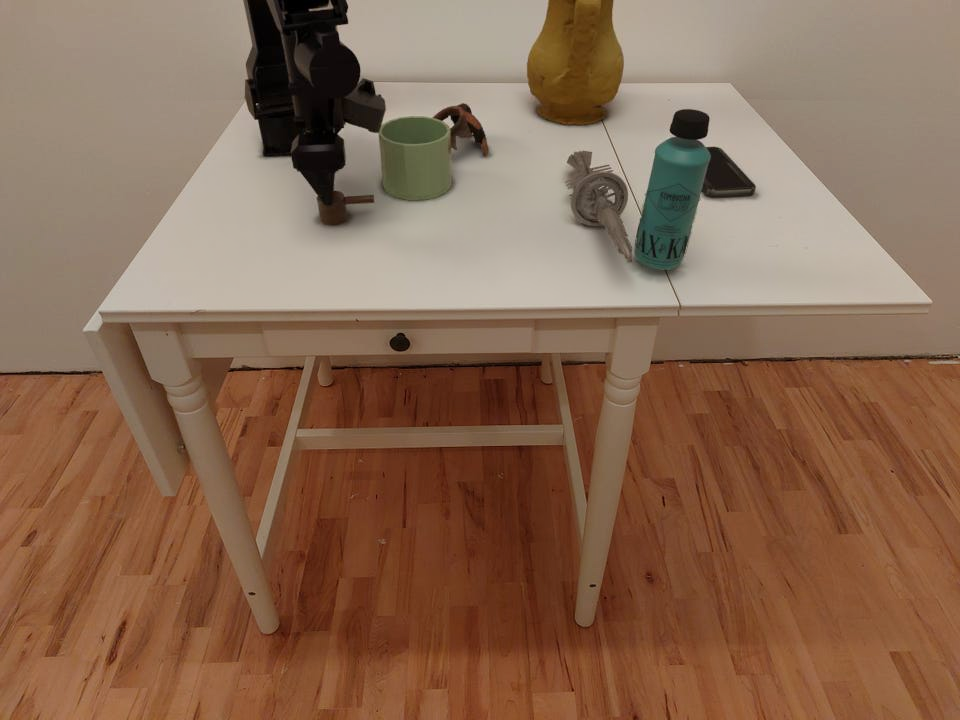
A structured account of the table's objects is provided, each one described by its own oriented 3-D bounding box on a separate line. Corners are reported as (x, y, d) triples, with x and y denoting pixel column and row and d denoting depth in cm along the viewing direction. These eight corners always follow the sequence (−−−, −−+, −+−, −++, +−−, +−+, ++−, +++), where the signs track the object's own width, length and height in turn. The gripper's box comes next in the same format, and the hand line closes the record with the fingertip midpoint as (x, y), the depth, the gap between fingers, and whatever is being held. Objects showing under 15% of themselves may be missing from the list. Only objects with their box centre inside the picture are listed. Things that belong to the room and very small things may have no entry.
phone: (709, 191, 99) (674, 148, 110) (707, 198, 100) (673, 154, 111) (759, 188, 100) (720, 146, 111) (757, 195, 101) (718, 152, 112)
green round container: (384, 202, 98) (379, 147, 92) (381, 170, 106) (377, 117, 100) (454, 198, 99) (454, 143, 93) (447, 167, 107) (446, 114, 101)
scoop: (319, 226, 93) (316, 204, 90) (320, 212, 95) (317, 190, 93) (376, 222, 94) (374, 200, 91) (375, 209, 96) (373, 187, 94)
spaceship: (589, 242, 75) (657, 216, 74) (544, 143, 104) (593, 123, 102) (607, 298, 80) (672, 274, 79) (560, 188, 108) (607, 170, 107)
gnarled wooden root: (491, 167, 108) (467, 128, 102) (441, 185, 112) (415, 148, 106) (495, 120, 115) (473, 81, 109) (448, 139, 119) (424, 102, 113)
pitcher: (633, 104, 127) (651, -46, 109) (590, 144, 115) (603, -17, 98) (553, 89, 134) (558, -55, 117) (506, 124, 123) (503, -29, 105)
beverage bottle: (625, 253, 88) (653, 102, 75) (673, 251, 89) (710, 101, 76) (638, 281, 84) (670, 125, 70) (689, 279, 84) (731, 124, 71)
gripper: (381, 96, 75) (391, 219, 85) (376, 44, 89) (385, 156, 99) (280, 100, 74) (303, 224, 84) (290, 47, 87) (309, 159, 98)
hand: (329, 188), depth 91 cm, fingers open, 9 cm apart
